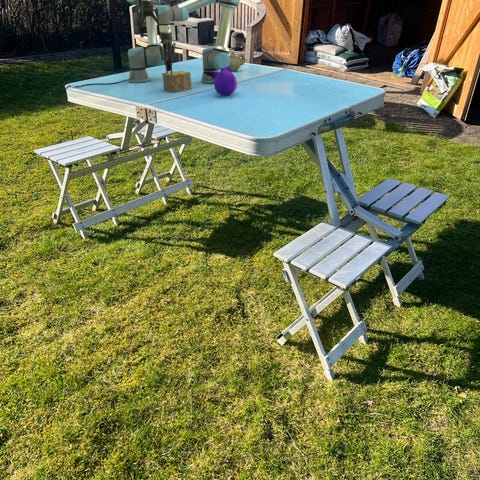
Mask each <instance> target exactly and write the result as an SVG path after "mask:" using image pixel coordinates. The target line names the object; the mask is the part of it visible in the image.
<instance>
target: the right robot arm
mask: <svg viewBox="0 0 480 480" xmlns="http://www.w3.org/2000/svg"><path fill="white" fill-rule="evenodd" d="M240 1H241V0H185V1H182V2H180V3H178V4H175V5H172V6H170V5H168V4H164V5H163V4H160V6H158V18H159V29H160V36H159V39H160V44H158V47H159V50H160V54H161V59H162V60H164V67H165V72H166V71H168V72H171V68H170V65H169V63H172V64H173V61H174V60H175V59H176V58H175V57H176V55H175V54H176V44H177V42H173V40H172V39H173V33H172V23H174V22H186V21H188V20H189V14H191V13H193V12H196V11H198V10H200V9H202V8H205V7H207V6H209V5H211V4H212V5H216V4H219V5H220V15H219V20H218V27H217V32H216V39H215V44H214V46H213V47H212V48H211V47H210V48H203V49H202V51H201V53H202V54H201V56H202V57H201V58H202V69H203V70H202V76H201V78H200V79H201V81H200V82H201V83H203V84H210V85H211V84H214V81H215V79H214V78H212V77H210V76H208V75H206V74H205V73H203V72H206V71H210V72H220V71H221V69H222V68H225V67H228V66H229V64H230V49H229V41H230V35H231V31H232V30H231V29H232V24H233V19H234V18H233V17H234V13H235V10H236V9H237V8H238V3H239V2H240ZM163 50H164V51H163Z"/></svg>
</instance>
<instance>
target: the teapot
mask: <svg viewBox="0 0 480 480" xmlns="http://www.w3.org/2000/svg"><path fill="white" fill-rule="evenodd" d="M230 52H231V54H229V57H230V64H229V66H228V67H230V69H231V72H237V71H238V70H239V69H240V68H241V66H243V65H244V64H245V63H246V56H245V54H244V53H243V52H241V53H239V54H236V53H235V51H230ZM240 59H241V60H240Z"/></svg>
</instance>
